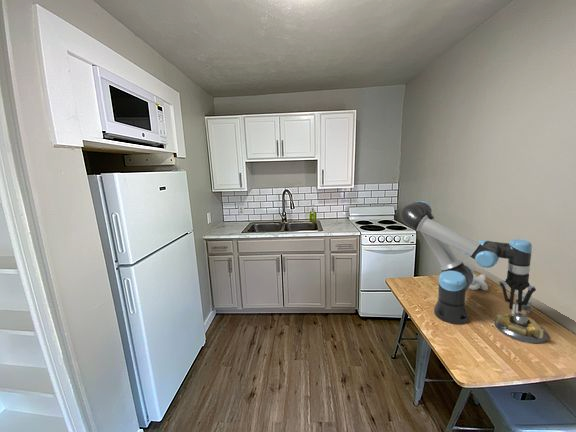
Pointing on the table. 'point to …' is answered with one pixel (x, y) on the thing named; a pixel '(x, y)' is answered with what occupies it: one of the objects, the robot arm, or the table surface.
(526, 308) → the pill bottle
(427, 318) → the table surface
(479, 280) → the white knot sculpture
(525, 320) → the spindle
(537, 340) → the hub plate
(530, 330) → the taped hex socket base
